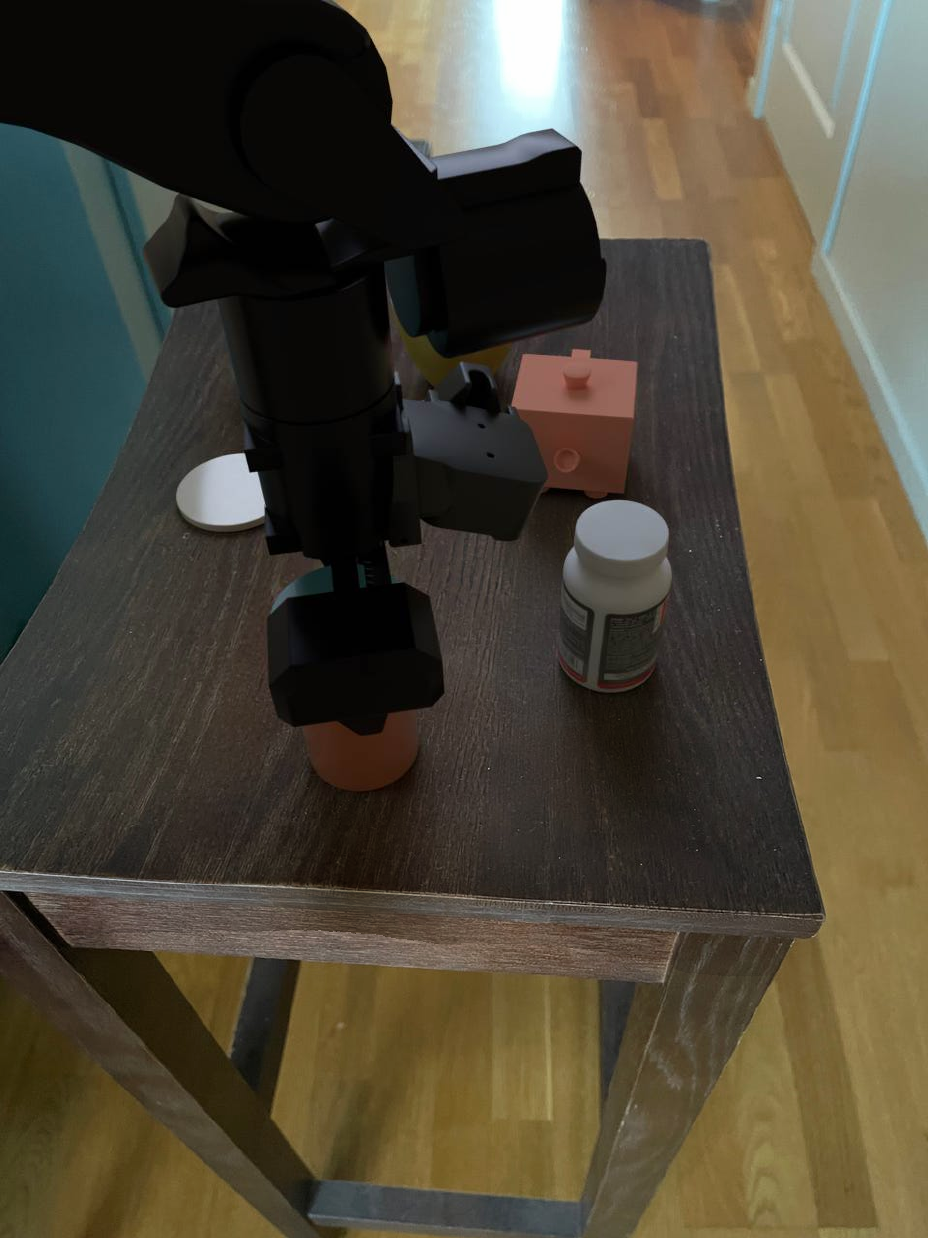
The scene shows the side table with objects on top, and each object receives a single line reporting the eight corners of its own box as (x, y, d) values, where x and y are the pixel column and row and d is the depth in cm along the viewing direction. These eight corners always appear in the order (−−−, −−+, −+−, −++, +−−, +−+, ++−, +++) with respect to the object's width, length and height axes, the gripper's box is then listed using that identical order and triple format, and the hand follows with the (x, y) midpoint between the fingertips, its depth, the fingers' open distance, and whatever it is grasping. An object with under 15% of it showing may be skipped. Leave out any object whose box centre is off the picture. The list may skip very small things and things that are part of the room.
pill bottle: (664, 634, 54) (690, 505, 47) (645, 707, 51) (670, 579, 43) (570, 613, 56) (581, 484, 48) (544, 682, 52) (553, 554, 45)
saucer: (201, 547, 60) (198, 541, 60) (162, 483, 65) (160, 476, 65) (311, 505, 63) (310, 498, 63) (266, 446, 68) (265, 440, 67)
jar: (338, 811, 47) (311, 694, 40) (290, 730, 50) (257, 609, 43) (440, 759, 49) (431, 638, 42) (387, 684, 52) (370, 562, 45)
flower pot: (542, 396, 71) (546, 311, 66) (420, 425, 69) (414, 339, 64) (495, 334, 78) (496, 252, 73) (382, 358, 76) (374, 276, 71)
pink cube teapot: (502, 526, 61) (503, 422, 55) (523, 421, 69) (526, 321, 63) (620, 537, 60) (634, 433, 54) (627, 430, 68) (641, 328, 62)
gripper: (597, 516, 28) (567, 792, 39) (487, 244, 41) (488, 514, 52) (229, 563, 27) (308, 833, 38) (233, 269, 39) (291, 539, 51)
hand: (361, 656), depth 45 cm, fingers open, 9 cm apart
